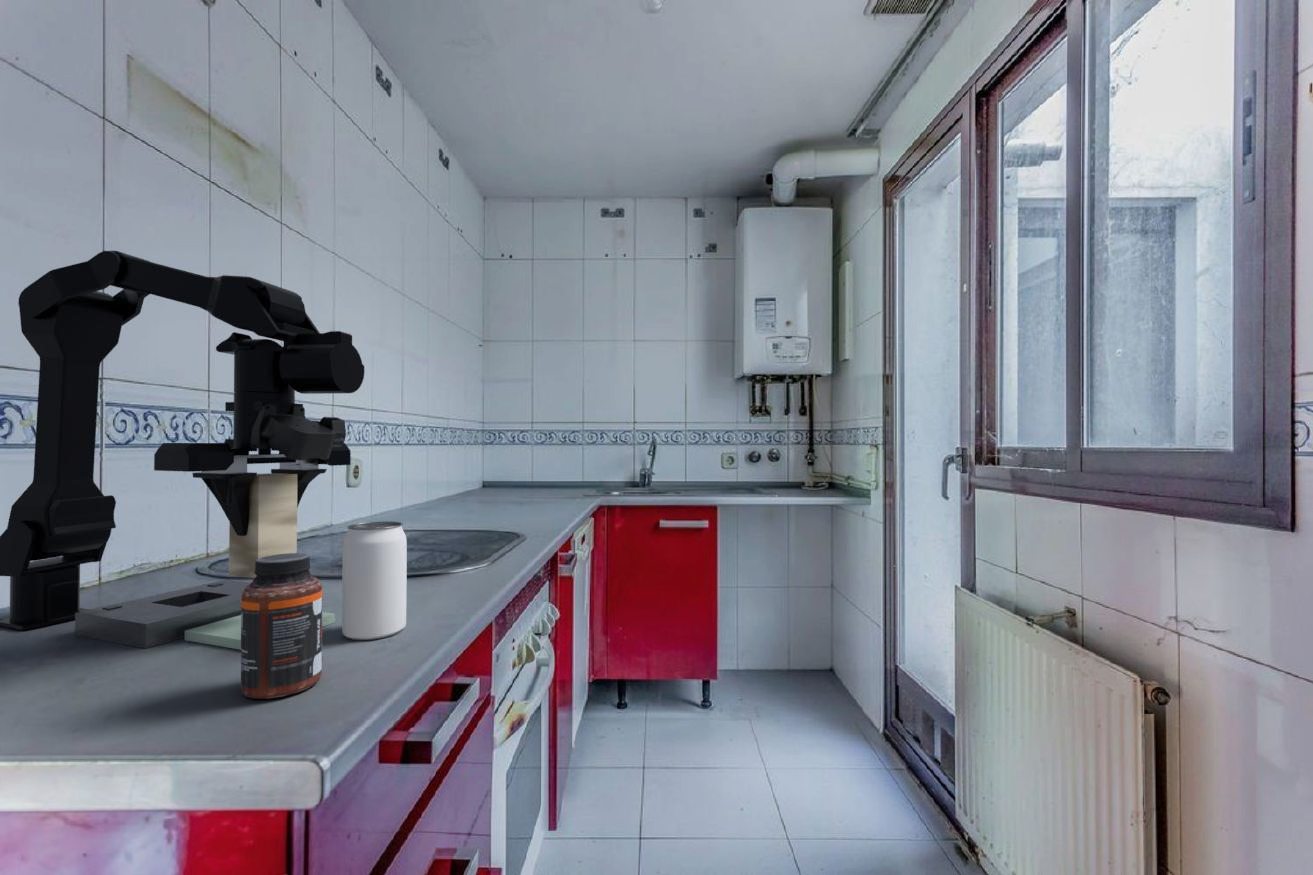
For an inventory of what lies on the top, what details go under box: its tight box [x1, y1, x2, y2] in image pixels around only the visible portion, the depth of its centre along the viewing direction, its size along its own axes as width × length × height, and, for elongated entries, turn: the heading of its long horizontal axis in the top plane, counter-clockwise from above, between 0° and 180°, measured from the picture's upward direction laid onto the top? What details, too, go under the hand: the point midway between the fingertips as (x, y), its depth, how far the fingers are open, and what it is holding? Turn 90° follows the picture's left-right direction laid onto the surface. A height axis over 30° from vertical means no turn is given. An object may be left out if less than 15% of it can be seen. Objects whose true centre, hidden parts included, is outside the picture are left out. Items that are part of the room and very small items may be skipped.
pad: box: [184, 611, 336, 651], centre depth 65 cm, size 10×10×1 cm
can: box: [341, 520, 408, 642], centre depth 64 cm, size 6×6×12 cm
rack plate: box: [74, 579, 252, 649], centre depth 69 cm, size 12×16×3 cm
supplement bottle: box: [240, 552, 323, 700], centre depth 50 cm, size 6×6×11 cm
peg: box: [228, 472, 298, 579], centre depth 65 cm, size 4×4×11 cm
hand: (263, 532), depth 65 cm, fingers closed on peg, 4 cm apart
